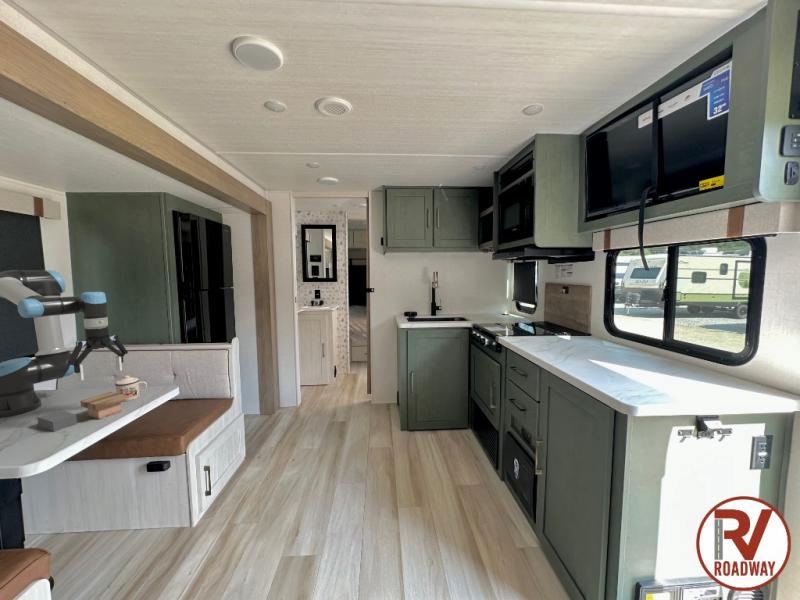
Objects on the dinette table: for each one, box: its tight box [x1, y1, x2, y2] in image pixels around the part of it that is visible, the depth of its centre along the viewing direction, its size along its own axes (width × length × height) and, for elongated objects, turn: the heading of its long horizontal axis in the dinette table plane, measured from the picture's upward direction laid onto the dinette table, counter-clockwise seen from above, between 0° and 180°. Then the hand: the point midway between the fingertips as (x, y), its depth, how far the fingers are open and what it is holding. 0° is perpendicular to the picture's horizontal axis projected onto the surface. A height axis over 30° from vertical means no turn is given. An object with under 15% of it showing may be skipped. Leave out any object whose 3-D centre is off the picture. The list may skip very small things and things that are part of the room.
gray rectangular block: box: [37, 409, 78, 432], centre depth 130 cm, size 12×7×4 cm, turn 69°
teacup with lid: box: [114, 374, 148, 403], centre depth 158 cm, size 12×9×12 cm
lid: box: [80, 391, 126, 410], centre depth 140 cm, size 11×11×2 cm
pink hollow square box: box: [87, 402, 122, 420], centre depth 140 cm, size 8×8×5 cm
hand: (101, 375), depth 139 cm, fingers open, 13 cm apart
